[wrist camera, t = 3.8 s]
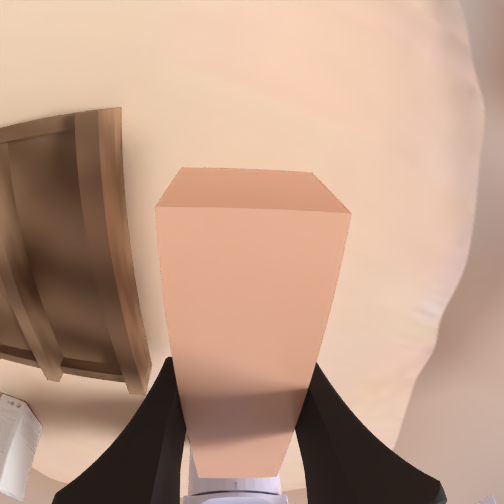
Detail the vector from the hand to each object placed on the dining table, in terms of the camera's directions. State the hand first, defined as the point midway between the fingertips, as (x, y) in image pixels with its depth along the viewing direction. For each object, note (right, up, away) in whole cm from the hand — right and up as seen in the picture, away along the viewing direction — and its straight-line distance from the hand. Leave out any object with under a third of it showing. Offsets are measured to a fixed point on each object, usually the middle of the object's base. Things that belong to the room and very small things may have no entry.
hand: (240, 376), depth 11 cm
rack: (-15, +4, +6) cm, 16 cm away
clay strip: (0, +1, +1) cm, 2 cm away
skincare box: (-28, -15, +15) cm, 35 cm away
